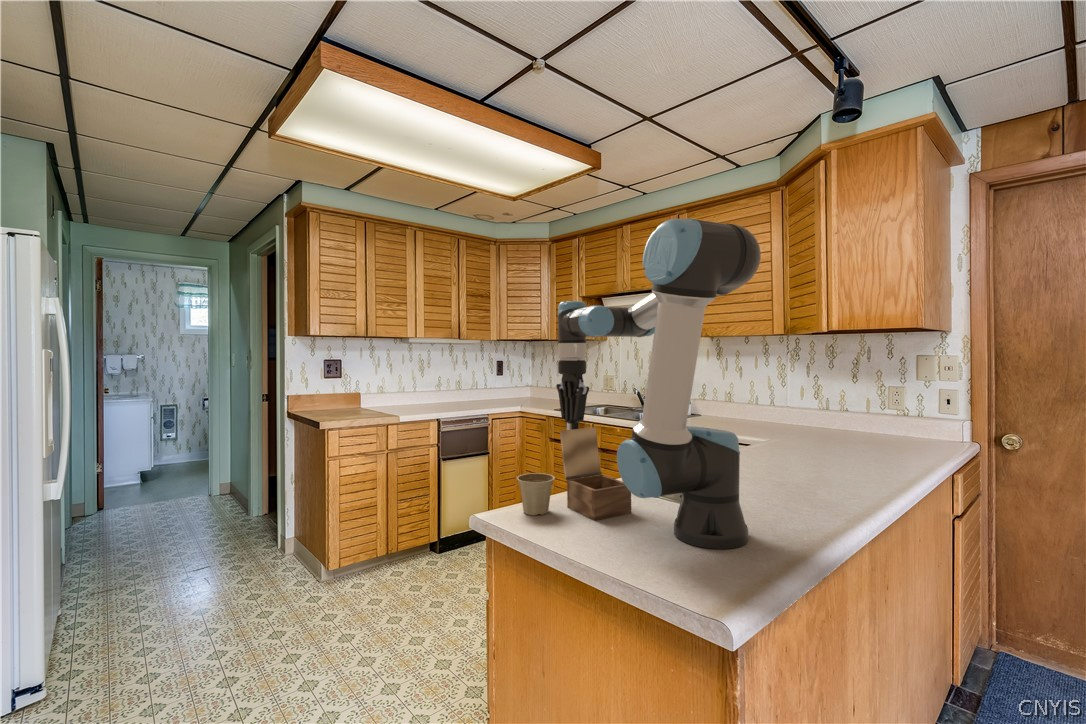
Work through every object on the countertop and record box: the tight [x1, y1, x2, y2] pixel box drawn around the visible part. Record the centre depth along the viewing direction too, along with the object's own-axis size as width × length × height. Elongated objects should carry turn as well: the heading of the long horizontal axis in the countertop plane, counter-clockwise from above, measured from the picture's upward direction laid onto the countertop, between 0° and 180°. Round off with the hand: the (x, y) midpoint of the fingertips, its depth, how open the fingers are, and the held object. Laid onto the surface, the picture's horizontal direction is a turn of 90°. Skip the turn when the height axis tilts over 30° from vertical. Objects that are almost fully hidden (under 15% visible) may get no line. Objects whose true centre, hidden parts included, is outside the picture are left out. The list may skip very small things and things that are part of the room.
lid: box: [559, 426, 603, 481], centre depth 135 cm, size 13×11×1 cm
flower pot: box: [516, 472, 555, 516], centre depth 128 cm, size 9×9×9 cm
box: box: [566, 474, 632, 522], centre depth 129 cm, size 12×11×7 cm
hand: (572, 446), depth 139 cm, fingers closed
